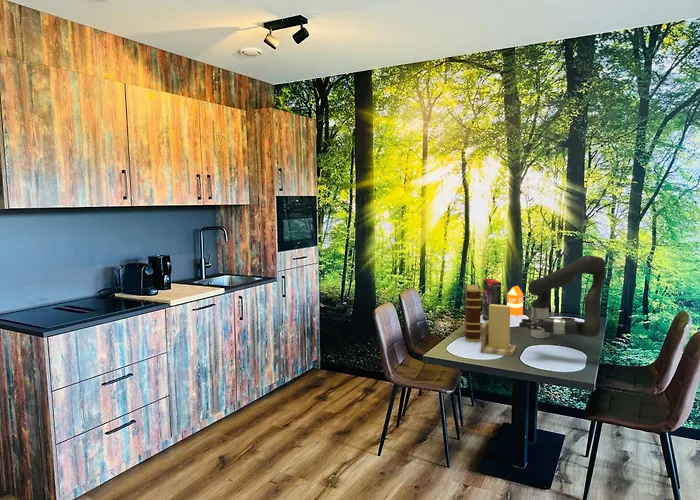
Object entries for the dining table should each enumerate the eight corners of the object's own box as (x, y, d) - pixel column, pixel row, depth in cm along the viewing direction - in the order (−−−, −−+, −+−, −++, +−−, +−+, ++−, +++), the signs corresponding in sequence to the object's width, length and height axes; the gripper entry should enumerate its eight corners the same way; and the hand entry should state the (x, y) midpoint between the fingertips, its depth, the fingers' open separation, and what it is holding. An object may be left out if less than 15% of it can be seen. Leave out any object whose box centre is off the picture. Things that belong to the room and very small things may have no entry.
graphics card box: (481, 318, 324) (482, 278, 322) (491, 318, 325) (492, 278, 323) (491, 324, 308) (491, 282, 305) (501, 324, 308) (502, 282, 306)
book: (490, 344, 255) (490, 304, 253) (509, 347, 251) (510, 305, 249) (488, 346, 252) (488, 305, 250) (508, 349, 247) (508, 307, 245)
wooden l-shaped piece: (516, 349, 254) (516, 323, 253) (511, 356, 242) (512, 329, 240) (486, 345, 261) (486, 320, 260) (480, 352, 249) (481, 326, 247)
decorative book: (480, 342, 267) (481, 289, 265) (466, 341, 269) (466, 289, 266) (478, 332, 289) (478, 283, 287) (464, 331, 291) (465, 282, 288)
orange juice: (522, 314, 335) (523, 286, 333) (517, 316, 328) (517, 287, 327) (512, 312, 340) (512, 285, 339) (506, 314, 334) (507, 286, 332)
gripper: (556, 315, 244) (522, 312, 251) (553, 321, 231) (518, 318, 239) (556, 329, 244) (522, 326, 252) (553, 336, 232) (518, 333, 239)
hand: (520, 322), depth 245 cm, fingers open, 8 cm apart
